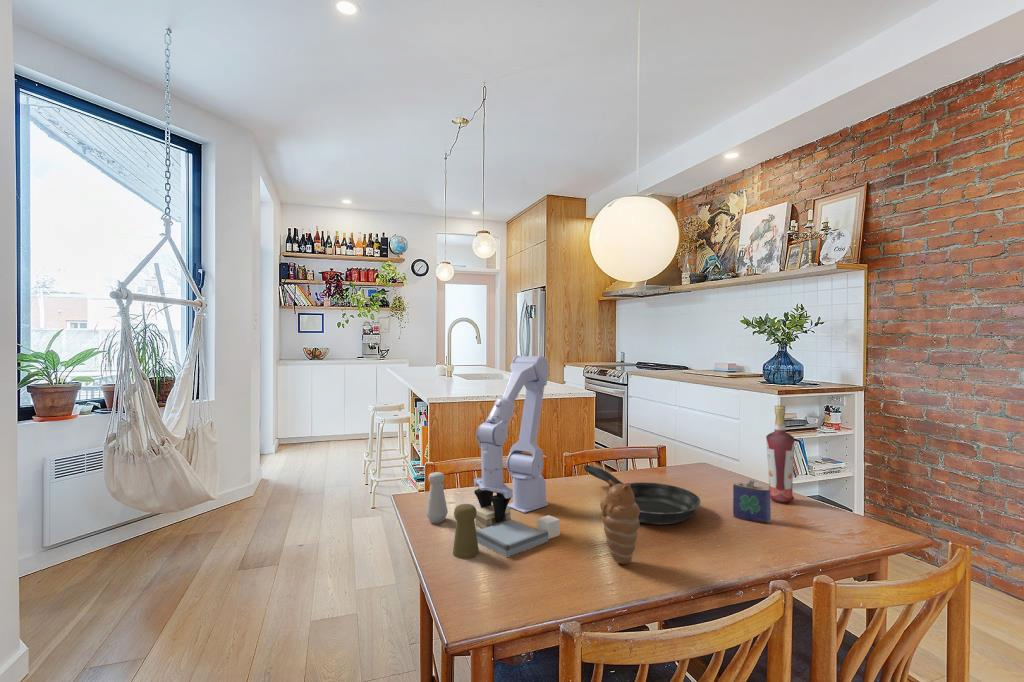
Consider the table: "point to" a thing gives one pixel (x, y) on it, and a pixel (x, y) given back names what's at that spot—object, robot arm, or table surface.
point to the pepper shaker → (465, 532)
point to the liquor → (780, 460)
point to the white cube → (549, 525)
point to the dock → (510, 537)
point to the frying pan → (656, 499)
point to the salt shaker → (436, 499)
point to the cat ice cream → (620, 521)
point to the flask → (751, 502)
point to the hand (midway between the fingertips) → (493, 518)
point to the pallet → (489, 516)
